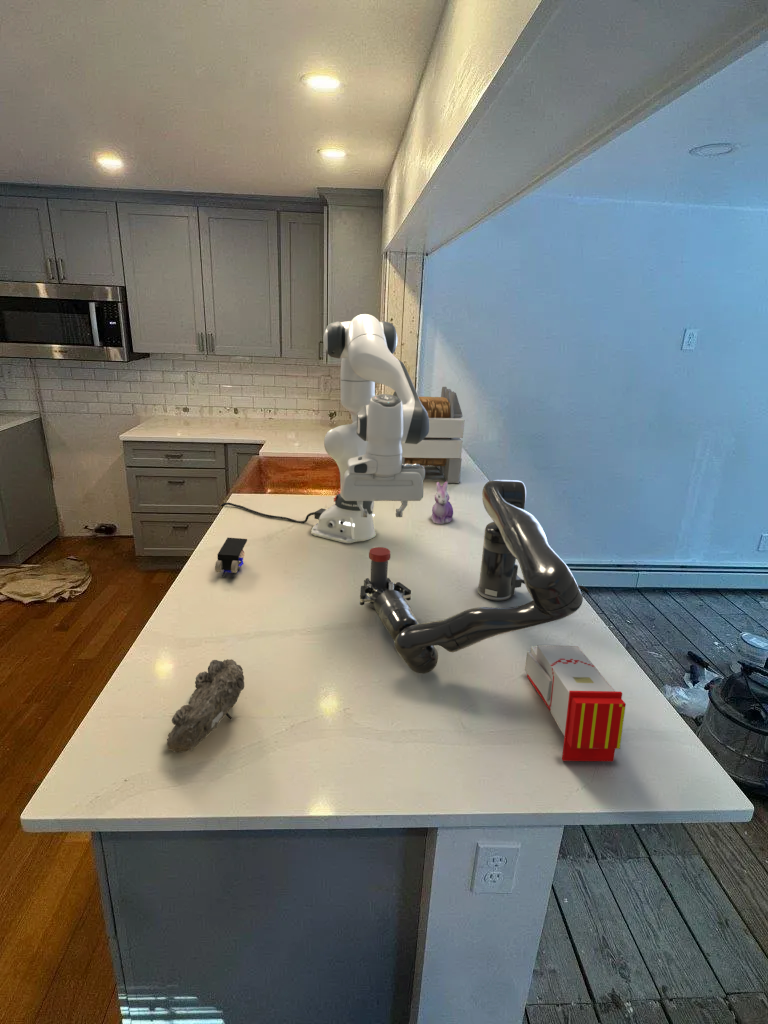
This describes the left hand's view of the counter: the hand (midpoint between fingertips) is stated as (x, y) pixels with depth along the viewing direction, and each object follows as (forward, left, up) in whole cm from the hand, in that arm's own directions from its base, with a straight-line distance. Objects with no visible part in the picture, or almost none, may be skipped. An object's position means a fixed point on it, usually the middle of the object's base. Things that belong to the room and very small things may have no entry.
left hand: (381, 516), depth 143 cm
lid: (0, 0, -10) cm, 10 cm away
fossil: (-17, -52, -25) cm, 61 cm away
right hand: (-1, +2, -19) cm, 19 cm away
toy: (+47, -28, -25) cm, 61 cm away
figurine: (+4, +71, -25) cm, 75 cm away
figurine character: (-47, +6, -25) cm, 53 cm away
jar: (0, 0, -25) cm, 25 cm away
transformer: (-18, +131, -25) cm, 135 cm away
